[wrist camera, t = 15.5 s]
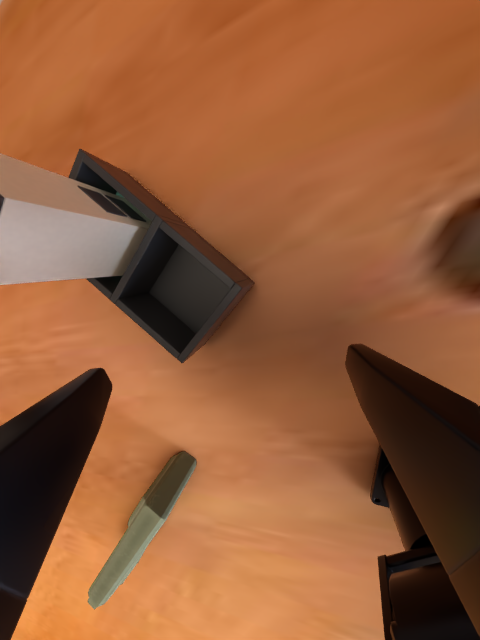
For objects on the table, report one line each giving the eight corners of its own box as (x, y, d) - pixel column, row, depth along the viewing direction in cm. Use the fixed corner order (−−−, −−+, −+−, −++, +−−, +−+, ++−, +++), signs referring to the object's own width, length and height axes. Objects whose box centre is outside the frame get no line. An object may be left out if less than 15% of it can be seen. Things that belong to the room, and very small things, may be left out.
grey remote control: (202, 463, 26) (130, 564, 34) (179, 445, 27) (113, 549, 35) (168, 525, 20) (90, 630, 28) (139, 500, 20) (70, 611, 29)
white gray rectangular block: (166, 231, 20) (-24, 189, 8) (140, 274, 22) (-49, 290, 10) (125, 196, 20) (-119, 105, 8) (103, 242, 22) (-127, 219, 10)
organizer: (254, 282, 20) (242, 288, 16) (204, 344, 22) (182, 363, 18) (125, 171, 20) (79, 147, 16) (91, 245, 23) (43, 241, 19)
